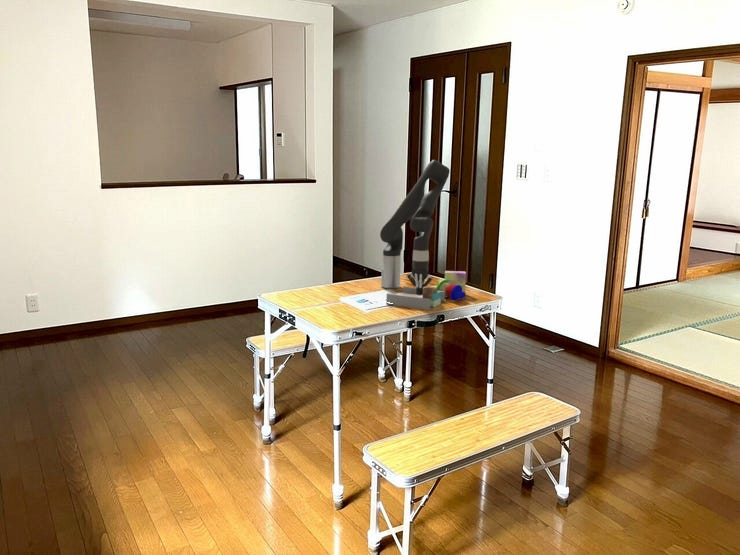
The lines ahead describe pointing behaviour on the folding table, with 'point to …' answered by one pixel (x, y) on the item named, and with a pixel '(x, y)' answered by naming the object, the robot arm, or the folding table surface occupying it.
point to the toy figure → (451, 290)
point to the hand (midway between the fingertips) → (419, 295)
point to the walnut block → (429, 292)
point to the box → (456, 278)
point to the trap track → (416, 299)
